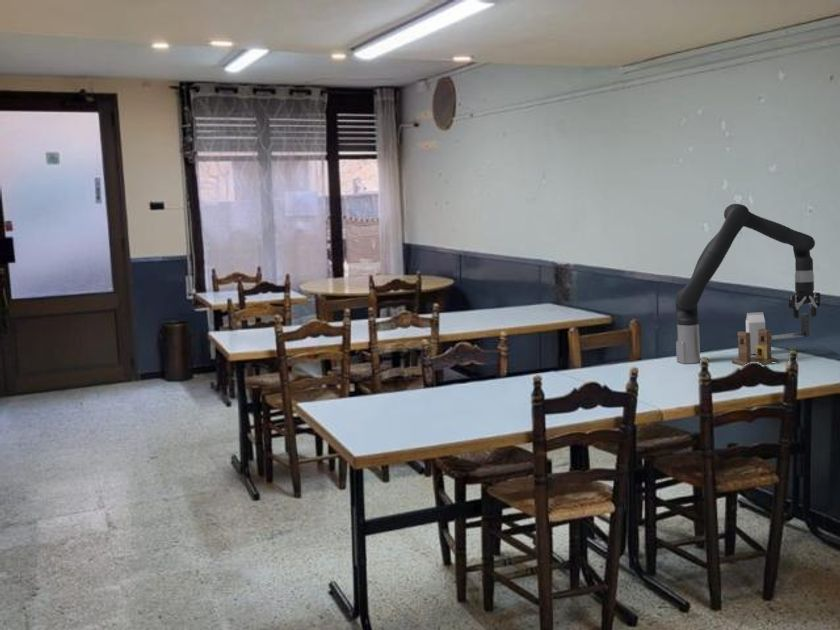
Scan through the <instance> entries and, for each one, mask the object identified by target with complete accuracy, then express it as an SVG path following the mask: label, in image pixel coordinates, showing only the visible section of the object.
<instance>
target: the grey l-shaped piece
mask: <svg viewBox="0 0 840 630" xmlns="http://www.w3.org/2000/svg"><path fill="white" fill-rule="evenodd" d="M809 315H810V313H805V312H802V313H801V314H800V323H801V324H800V328H801V331H799V332H792V333H782V334H775V335H774V334H773V335H771V341H776V340H777V341H778V340H786V339H792V338H793V339H795V338H801V337H806V338H808V337H810V323H809V322H810V319H809V318H810V316H809Z"/></svg>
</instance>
